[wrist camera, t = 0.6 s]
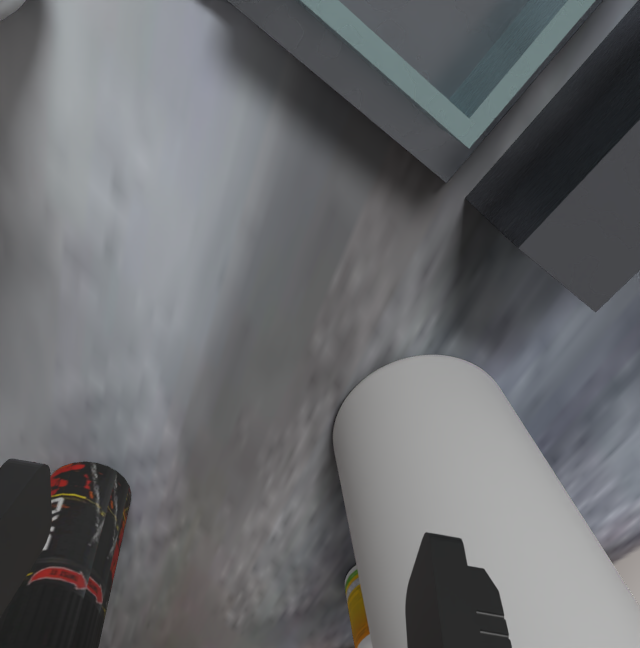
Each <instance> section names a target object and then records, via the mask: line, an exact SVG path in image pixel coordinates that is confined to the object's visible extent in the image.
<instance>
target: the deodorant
mask: <svg viewBox="0 0 640 648" xmlns="http://www.w3.org/2000/svg"><path fill="white" fill-rule="evenodd" d="M50 479H51V503H52V524H51V530H50V533H49V537H48V539H47V542H46V544H45V546H44V548H43V550H42V552H41V553H40V555H39V556H38V558H37V560H36V561H35V563H34V564H33V566H32V568H31V569H30V571H29V572H28V574H27V576H26V577H25V579H24V580H23V582H22V584H21V585H20V587H19V588H18V590H17V592H16V593H15V595H14V596H13V598H12V600H11V601H10V603H9V604H8V606H7V608H6V609H5V611H4V612H3V614H2V616H1V617H0V648H98V646H99V642H100V637H101V633H102V628H103V623H104V619H105V614H106V610H107V605H108V601H109V596H110V592H111V587H112V583H113V578H114V574H115V569H116V565H117V560H118V556H119V551H120V546H121V542H122V537H123V533H124V528H125V524H126V519H127V515H128V510H129V506H130V501H131V491H130V487H129V485H128V483H127V481H126V480H125V478H124V477H123V476H121V475H120V474H119V473H118V472H117V471H115V470H113V469H111V468H110V467H108V466H105V465H101V464H98V463H91V462H79V463H72V464H69V465H65V466H63V467H61V468H59V469H58V470H56V471H54V472H53V474H52V475H51V476H50Z"/></svg>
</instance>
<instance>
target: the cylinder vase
mask: <svg viewBox="0 0 640 648" xmlns="http://www.w3.org/2000/svg"><path fill="white" fill-rule="evenodd" d="M333 447H334V453H335V458H336V463H337V468H338V473H339V478H340V483H341V488H342V493H343V499H344V504H345V509H346V514H347V519H348V524H349V529H350V534H351V539H352V545H353V550H354V555H355V560H356V565H357V570H358V575H359V580H360V585H361V591H362V596H363V601H364V606H365V611H366V616H367V621H368V626H369V631H370V636H371V642H372V647H373V648H407V632H406V617H405V602H406V593H407V587H408V582H409V579H410V576H411V573H412V570H413V566H414V563H415V560H416V557H417V554H418V551H419V548H420V544H421V541H422V538H423V536H424V534H425V533H426V532H429V533H435V534H440V535H446V536H452V537H458V538H461V539H462V541H463V544H464V549H465V554H466V560H467V565H468V566H473V567H478V568H484V569H485V571H486V572H487V574H488V575H489V577H490V578H491V580H492V581H493V583H494V584H495V586H496V587H497V589H498V590H499V594H500V598H501V602H502V606H503V611H504V619H506V623H507V628H508V632H509V639H510V640H511V645H512V648H640V606H639V604H638V603H637V602H636V600H635V598H634V596H633V595H632V594H631V592H630V590H629V589H628V587H627V586H626V584H625V582H624V581H623V579H622V578H621V576H620V575H619V573H618V572H617V570H616V568H615V567H614V565H613V564H612V562H611V561H610V559H609V557H608V556H607V554H606V553H605V551H604V550H603V548H602V547H601V545H600V543H599V542H598V540H597V539H596V537H595V536H594V534H593V533H592V531H591V529H590V528H589V526H588V525H587V523H586V522H585V520H584V518H583V517H582V515H581V514H580V512H579V511H578V509H577V508H576V506H575V504H574V503H573V501H572V500H571V498H570V497H569V495H568V494H567V492H566V490H565V489H564V487H563V486H562V484H561V483H560V481H559V480H558V478H557V476H556V475H555V473H554V472H553V470H552V469H551V467H550V465H549V464H548V462H547V461H546V459H545V458H544V456H543V455H542V453H541V451H540V450H539V448H538V447H537V445H536V444H535V442H534V441H533V439H532V437H531V436H530V434H529V433H528V431H527V430H526V428H525V427H524V425H523V423H522V422H521V420H520V419H519V417H518V416H517V414H516V412H515V411H514V409H513V408H512V406H511V405H510V403H509V402H508V400H507V398H506V397H505V395H504V394H503V392H502V391H501V389H500V388H499V386H498V385H497V383H496V382H495V381H494V380H493V378H492V377H491V376H490V375H488V374H487V373H486V372H485V371H484V370H482V369H481V368H479V367H478V366H476V365H474V364H472V363H470V362H468V361H465V360H463V359H459V358H456V357H451V356H445V355H419V356H413V357H408V358H404V359H401V360H397V361H395V362H392V363H390V364H387V365H385V366H383V367H381V368H379V369H378V370H376V371H374V372H373V373H371V374H370V375H368V376H367V377H366V378H364V379H363V380H362V381H361V382H360V383H359V384H358V385H357V386H356V387H355V388H354V389H353V390H352V391H351V392H350V394H349V395H348V396H347V398H346V399H345V401H344V402H343V404H342V406H341V408H340V410H339V412H338V414H337V417H336V420H335V424H334V429H333Z"/></svg>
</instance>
